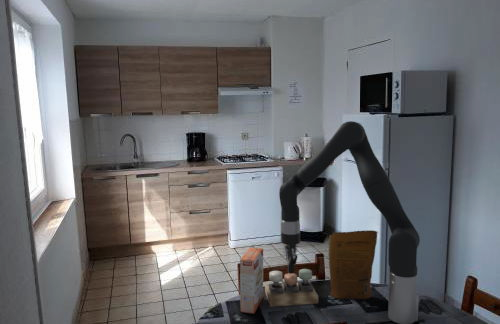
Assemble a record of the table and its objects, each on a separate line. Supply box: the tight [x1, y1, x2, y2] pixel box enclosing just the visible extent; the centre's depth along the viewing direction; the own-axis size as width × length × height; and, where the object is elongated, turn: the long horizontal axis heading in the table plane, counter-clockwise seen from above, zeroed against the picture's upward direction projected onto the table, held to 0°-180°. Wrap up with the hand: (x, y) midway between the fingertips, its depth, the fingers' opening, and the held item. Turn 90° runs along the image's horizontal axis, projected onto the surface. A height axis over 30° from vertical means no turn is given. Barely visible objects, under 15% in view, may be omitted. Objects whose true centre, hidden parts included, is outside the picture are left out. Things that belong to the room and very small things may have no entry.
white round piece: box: [268, 270, 284, 286], centre depth 162 cm, size 5×5×5 cm
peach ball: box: [283, 273, 298, 287], centre depth 163 cm, size 5×5×5 cm
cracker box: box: [239, 247, 264, 315], centre depth 157 cm, size 14×6×21 cm, turn 164°
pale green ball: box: [298, 268, 313, 284], centre depth 163 cm, size 5×5×5 cm
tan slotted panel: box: [264, 280, 319, 307], centre depth 163 cm, size 19×13×5 cm
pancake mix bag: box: [328, 230, 378, 300], centre depth 161 cm, size 7×19×28 cm, turn 86°
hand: (290, 272), depth 162 cm, fingers closed
